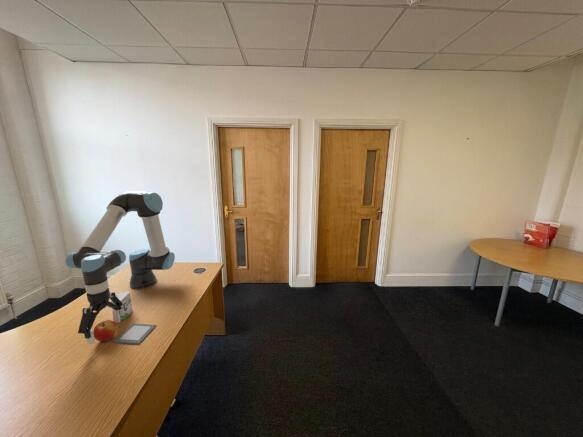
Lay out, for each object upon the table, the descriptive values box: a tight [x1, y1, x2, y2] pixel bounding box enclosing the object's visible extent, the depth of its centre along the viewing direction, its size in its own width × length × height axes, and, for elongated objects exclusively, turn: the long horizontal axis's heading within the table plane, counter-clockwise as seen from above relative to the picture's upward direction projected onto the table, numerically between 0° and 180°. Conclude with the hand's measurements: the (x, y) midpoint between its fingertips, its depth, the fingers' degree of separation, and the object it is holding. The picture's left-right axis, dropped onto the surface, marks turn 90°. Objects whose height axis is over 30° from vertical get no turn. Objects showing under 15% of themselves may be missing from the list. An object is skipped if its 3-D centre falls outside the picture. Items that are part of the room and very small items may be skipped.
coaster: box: [113, 323, 157, 345], centre depth 107 cm, size 12×12×1 cm
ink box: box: [110, 291, 133, 321], centre depth 118 cm, size 9×5×12 cm, turn 9°
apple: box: [93, 319, 118, 342], centre depth 102 cm, size 8×8×10 cm
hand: (105, 331), depth 102 cm, fingers open, 13 cm apart
